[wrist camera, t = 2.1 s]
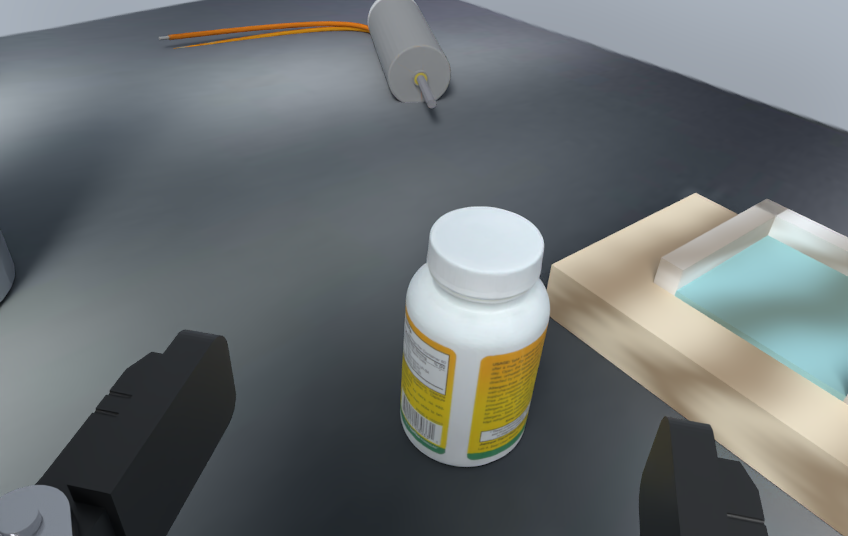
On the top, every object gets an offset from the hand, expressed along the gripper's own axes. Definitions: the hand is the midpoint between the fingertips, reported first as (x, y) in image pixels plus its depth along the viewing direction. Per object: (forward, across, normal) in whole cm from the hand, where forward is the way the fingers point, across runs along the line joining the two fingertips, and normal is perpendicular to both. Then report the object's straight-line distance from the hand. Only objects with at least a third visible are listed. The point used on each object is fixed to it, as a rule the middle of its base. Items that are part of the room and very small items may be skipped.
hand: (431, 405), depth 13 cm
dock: (+18, -13, +13) cm, 26 cm away
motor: (+45, +20, +13) cm, 51 cm away
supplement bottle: (+12, 0, +14) cm, 18 cm away
